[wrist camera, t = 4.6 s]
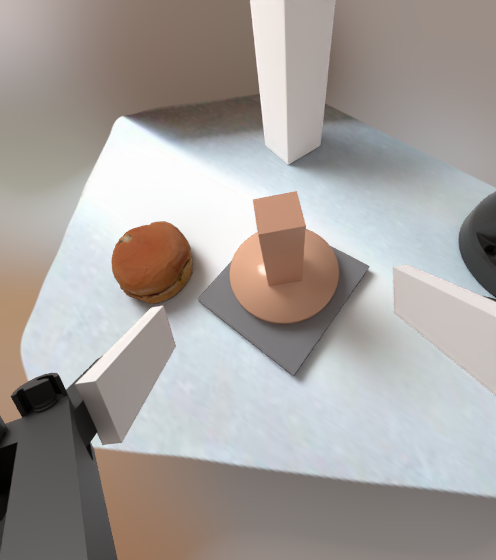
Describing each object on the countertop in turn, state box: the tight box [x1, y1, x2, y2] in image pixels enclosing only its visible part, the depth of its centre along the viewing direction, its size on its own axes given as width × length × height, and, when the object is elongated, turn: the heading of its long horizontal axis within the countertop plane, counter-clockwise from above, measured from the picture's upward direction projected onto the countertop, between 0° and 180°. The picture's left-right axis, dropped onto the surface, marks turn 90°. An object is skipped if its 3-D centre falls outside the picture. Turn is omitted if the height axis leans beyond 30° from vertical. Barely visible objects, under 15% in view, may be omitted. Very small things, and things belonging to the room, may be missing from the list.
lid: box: [230, 191, 339, 325], centre depth 24 cm, size 12×12×10 cm
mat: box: [198, 246, 369, 376], centre depth 28 cm, size 13×14×1 cm
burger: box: [112, 221, 192, 304], centre depth 31 cm, size 10×9×5 cm
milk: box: [250, 0, 335, 165], centre depth 29 cm, size 6×6×22 cm
